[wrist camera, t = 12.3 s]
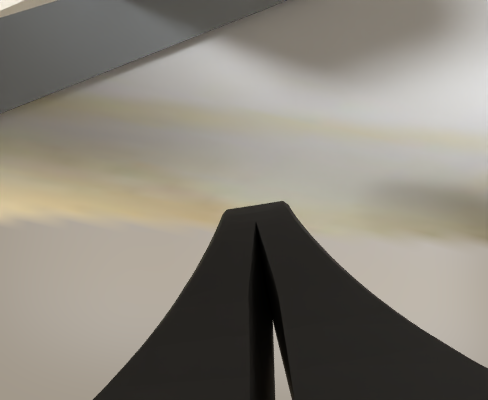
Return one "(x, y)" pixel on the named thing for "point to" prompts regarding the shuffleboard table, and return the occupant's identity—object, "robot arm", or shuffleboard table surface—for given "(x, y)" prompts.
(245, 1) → the slate mat
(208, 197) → the shuffleboard table surface
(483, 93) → the shuffleboard table surface
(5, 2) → the domino
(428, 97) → the shuffleboard table surface
